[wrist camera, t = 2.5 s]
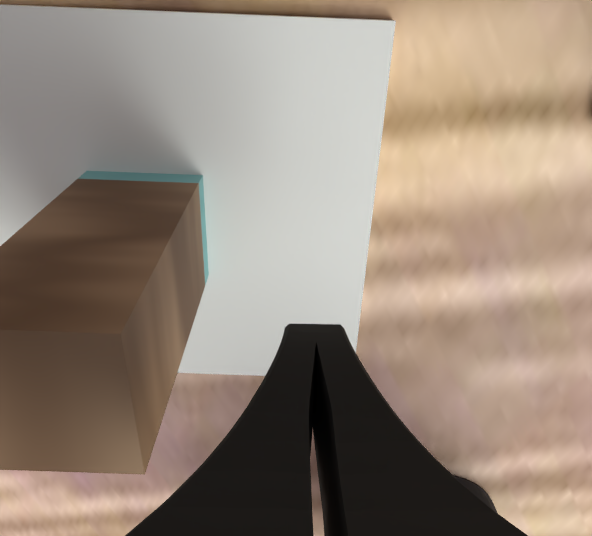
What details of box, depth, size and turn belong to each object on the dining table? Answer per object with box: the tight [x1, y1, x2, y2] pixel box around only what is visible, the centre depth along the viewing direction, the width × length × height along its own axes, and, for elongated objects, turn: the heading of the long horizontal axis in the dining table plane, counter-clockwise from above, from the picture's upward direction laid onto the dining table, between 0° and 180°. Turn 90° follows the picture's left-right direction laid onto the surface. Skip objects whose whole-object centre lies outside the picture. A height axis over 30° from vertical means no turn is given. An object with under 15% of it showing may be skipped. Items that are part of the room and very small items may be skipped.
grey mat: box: [0, 4, 396, 376], centre depth 18 cm, size 18×14×1 cm
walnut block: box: [0, 171, 209, 474], centre depth 14 cm, size 4×4×9 cm
